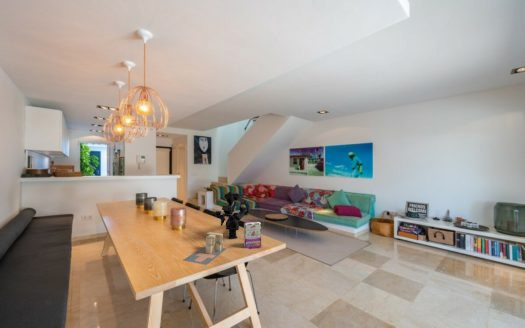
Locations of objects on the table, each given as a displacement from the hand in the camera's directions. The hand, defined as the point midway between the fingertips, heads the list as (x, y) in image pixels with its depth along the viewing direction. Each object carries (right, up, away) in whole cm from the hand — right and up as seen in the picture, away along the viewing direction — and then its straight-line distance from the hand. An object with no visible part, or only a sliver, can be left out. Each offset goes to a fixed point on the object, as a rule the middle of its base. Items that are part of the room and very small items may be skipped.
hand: (223, 225), depth 149 cm
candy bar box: (+20, -13, -5) cm, 25 cm away
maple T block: (-5, -12, -14) cm, 19 cm away
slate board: (-7, -12, -18) cm, 23 cm away
